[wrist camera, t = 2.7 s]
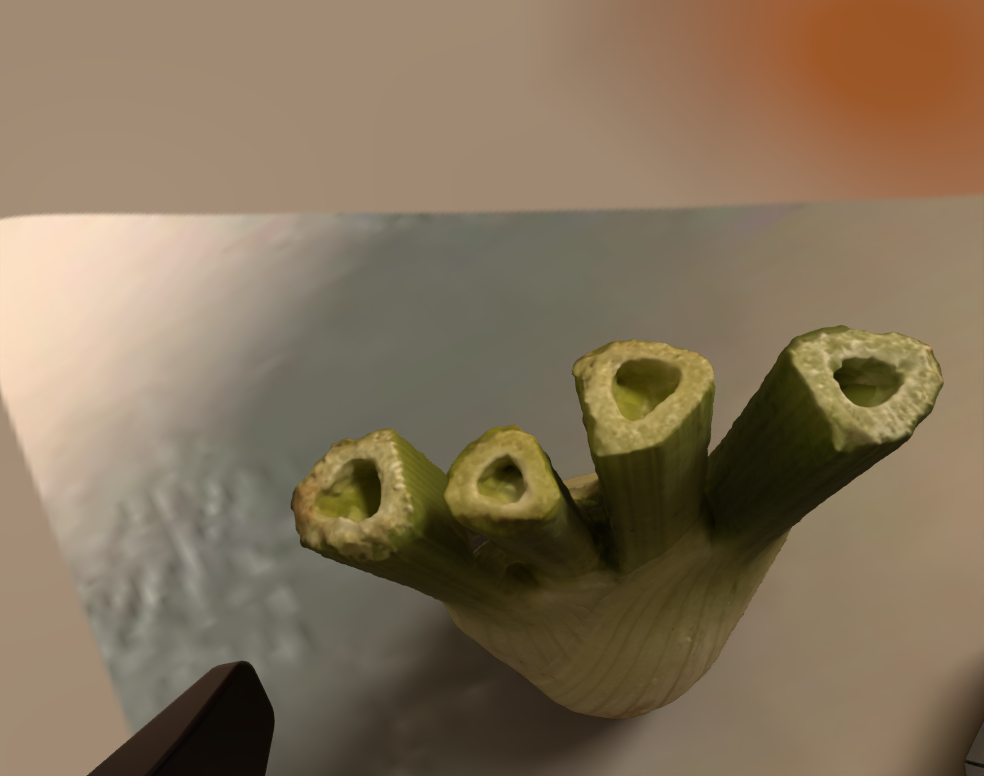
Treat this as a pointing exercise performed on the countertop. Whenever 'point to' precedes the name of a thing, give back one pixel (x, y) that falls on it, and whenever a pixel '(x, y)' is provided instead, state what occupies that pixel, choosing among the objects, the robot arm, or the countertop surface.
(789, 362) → the fennel bulb
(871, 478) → the countertop surface
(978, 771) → the slate dish
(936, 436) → the countertop surface
